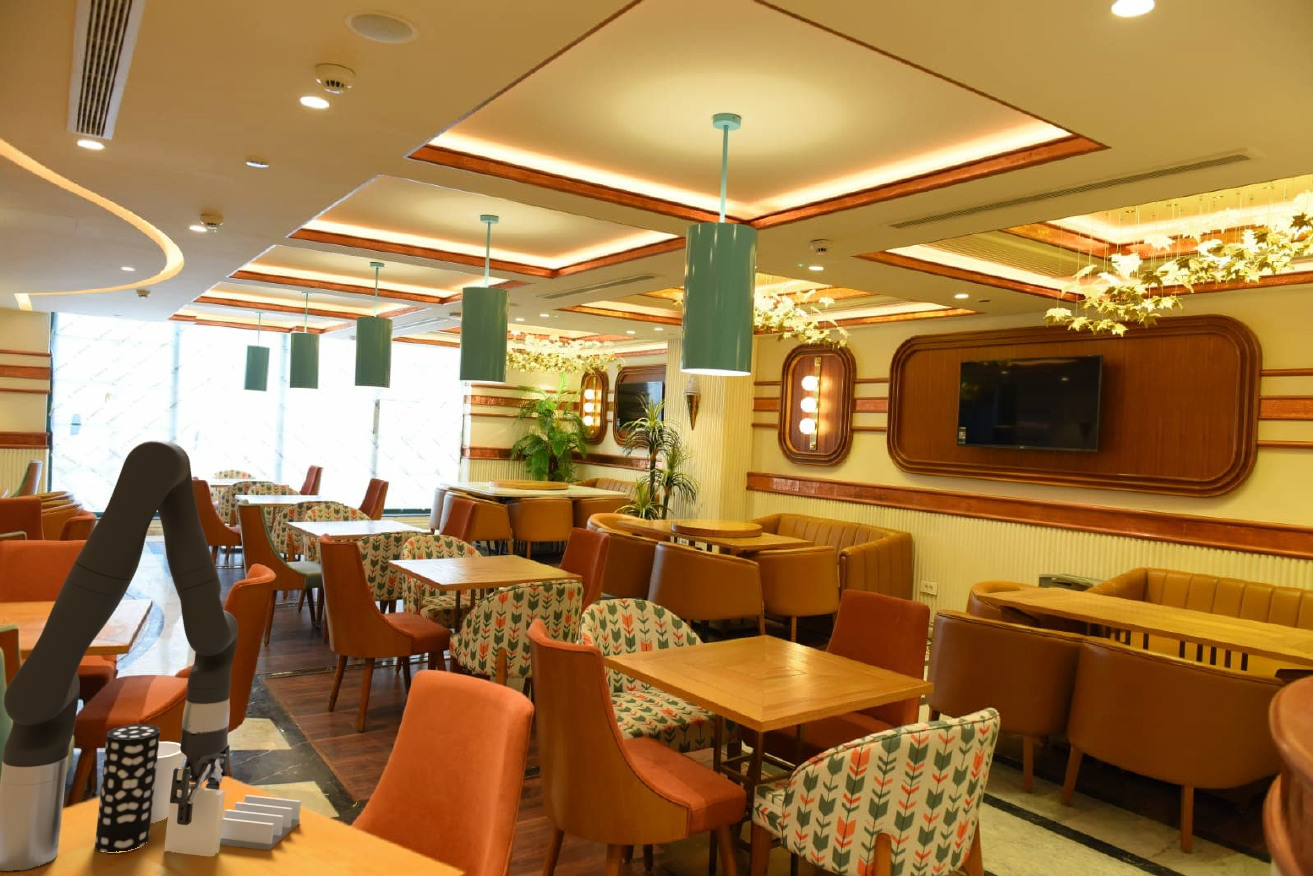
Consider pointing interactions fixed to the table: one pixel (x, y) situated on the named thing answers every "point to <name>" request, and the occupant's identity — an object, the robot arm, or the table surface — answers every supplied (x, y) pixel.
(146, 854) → the table surface
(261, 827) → the dish rack
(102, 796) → the spotted tube
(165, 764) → the foam cup
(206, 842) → the cream upright slab
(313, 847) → the table surface
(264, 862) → the table surface
